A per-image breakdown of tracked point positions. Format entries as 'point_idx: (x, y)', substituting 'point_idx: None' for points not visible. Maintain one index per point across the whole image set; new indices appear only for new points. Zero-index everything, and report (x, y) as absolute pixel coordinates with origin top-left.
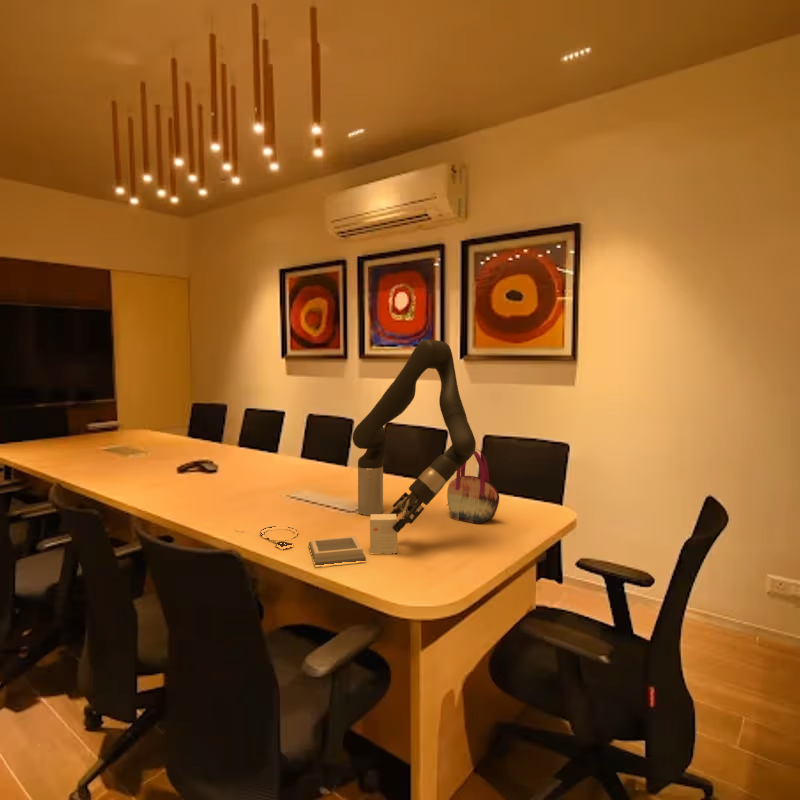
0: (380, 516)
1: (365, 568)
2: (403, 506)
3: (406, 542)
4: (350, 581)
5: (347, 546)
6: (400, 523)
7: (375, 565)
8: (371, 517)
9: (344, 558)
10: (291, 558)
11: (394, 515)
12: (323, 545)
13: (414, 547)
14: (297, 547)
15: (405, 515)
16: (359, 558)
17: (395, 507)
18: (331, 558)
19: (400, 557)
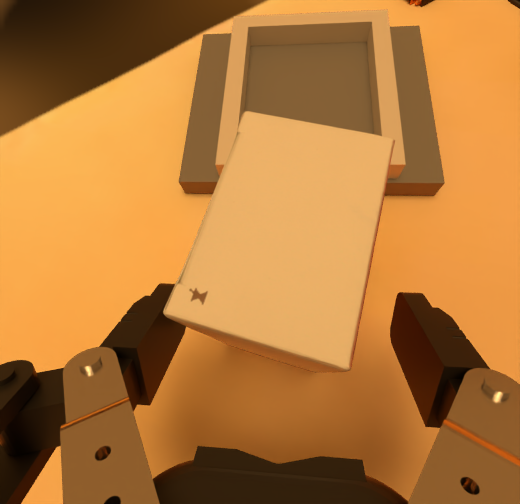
0: (294, 193)
1: (137, 182)
2: (299, 486)
3: (388, 463)
4: (65, 123)
5: None
6: (112, 333)
7: (146, 220)
8: (294, 125)
9: (201, 112)
10: (311, 2)
11: (289, 330)
12: (365, 64)
13: None
14: (413, 16)
15: (67, 398)
16: (183, 159)
17: (482, 403)
18: (219, 76)
19: (183, 345)
